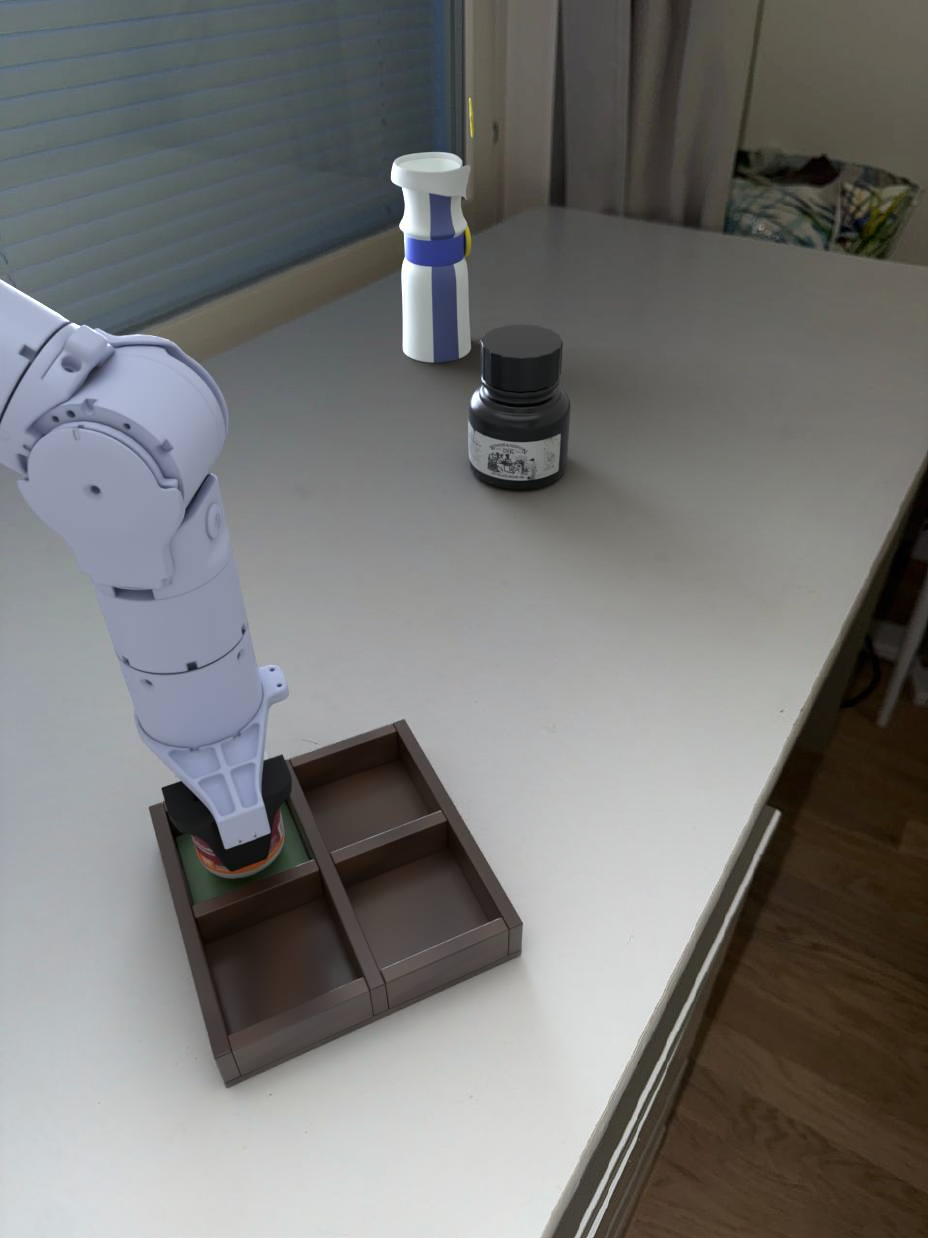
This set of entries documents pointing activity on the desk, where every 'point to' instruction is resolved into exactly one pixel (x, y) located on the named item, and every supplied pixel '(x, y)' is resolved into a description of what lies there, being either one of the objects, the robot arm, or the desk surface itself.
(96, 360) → the robot arm
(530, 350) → the ink bottle
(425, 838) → the tray
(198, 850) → the pill bottle
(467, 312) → the water bottle
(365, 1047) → the desk surface
